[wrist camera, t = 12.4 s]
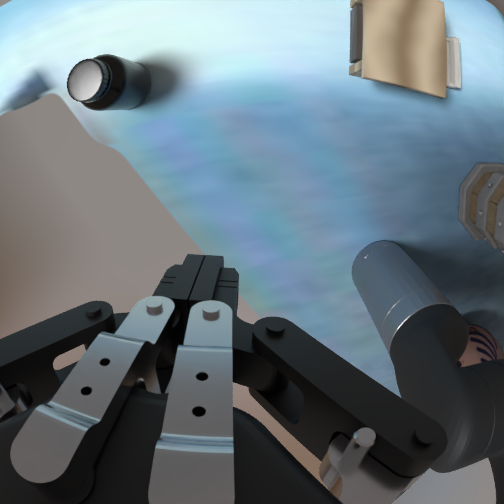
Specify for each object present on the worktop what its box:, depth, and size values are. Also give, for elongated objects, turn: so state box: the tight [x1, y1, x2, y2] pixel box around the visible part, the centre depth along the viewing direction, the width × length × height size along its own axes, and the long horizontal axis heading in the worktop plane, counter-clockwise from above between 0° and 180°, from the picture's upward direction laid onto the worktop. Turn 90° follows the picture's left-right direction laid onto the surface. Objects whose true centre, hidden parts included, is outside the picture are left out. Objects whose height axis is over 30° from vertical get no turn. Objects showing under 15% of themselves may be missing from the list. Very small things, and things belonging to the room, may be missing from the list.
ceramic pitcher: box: [456, 324, 504, 368], centre depth 40 cm, size 18×21×25 cm
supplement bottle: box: [67, 54, 151, 111], centre depth 30 cm, size 7×7×12 cm
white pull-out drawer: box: [446, 36, 461, 89], centre depth 31 cm, size 15×8×2 cm, turn 89°
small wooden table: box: [349, 0, 447, 99], centre depth 29 cm, size 11×14×7 cm
